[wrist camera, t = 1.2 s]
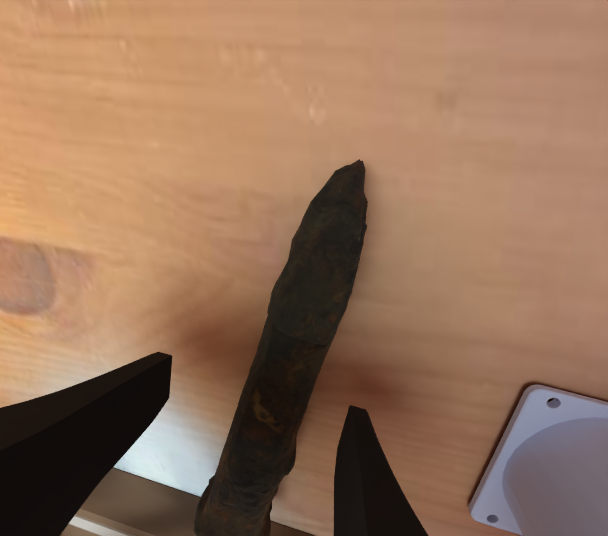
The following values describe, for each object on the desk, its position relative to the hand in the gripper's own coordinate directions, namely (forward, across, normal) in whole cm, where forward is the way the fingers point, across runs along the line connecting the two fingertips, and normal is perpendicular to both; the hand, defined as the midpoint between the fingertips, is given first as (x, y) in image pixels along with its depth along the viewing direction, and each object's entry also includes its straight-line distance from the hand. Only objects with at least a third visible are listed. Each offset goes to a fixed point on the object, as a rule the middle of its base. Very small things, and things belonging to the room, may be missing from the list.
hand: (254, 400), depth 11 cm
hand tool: (+4, 0, 0) cm, 4 cm away
